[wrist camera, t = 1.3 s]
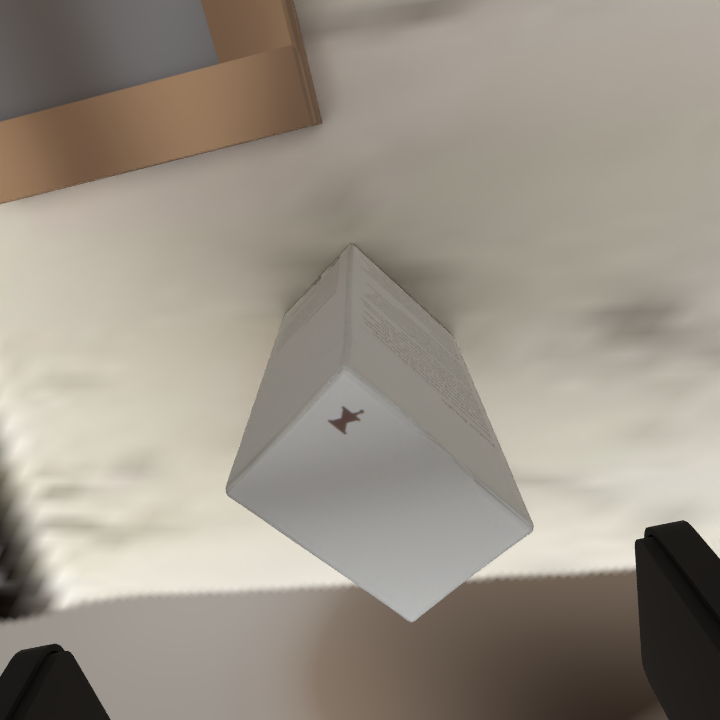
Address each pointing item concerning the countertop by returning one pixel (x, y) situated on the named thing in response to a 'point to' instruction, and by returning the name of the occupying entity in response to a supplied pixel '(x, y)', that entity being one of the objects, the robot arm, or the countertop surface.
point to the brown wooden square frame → (141, 85)
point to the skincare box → (377, 444)
